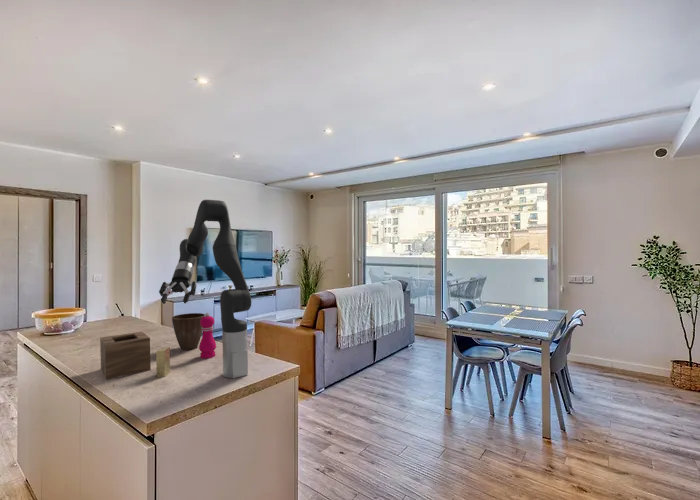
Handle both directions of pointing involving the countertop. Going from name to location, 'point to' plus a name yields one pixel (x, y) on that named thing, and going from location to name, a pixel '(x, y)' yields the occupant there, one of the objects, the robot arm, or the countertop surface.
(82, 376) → the countertop surface
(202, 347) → the pepper mill
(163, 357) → the beige rectangular block
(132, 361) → the wooden box
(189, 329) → the plant pot
